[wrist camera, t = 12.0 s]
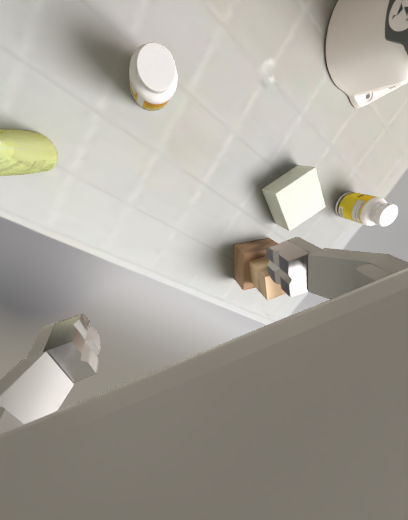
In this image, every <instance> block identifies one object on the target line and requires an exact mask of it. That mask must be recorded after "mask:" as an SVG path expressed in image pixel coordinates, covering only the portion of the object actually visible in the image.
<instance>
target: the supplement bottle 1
mask: <svg viewBox="0 0 408 520" xmlns="http://www.w3.org/2000/svg"><path fill="white" fill-rule="evenodd" d="M177 81H178V75H177V69H176V66H175V62H174V59H173V57H172V55H171V53H170V52H169V50H168V49H167V48H166V47H164V46H163V45H161V44H159V43H155V42H151V43H147V44H144V45H142V46H140V47H139V48H138V49H136V51H135V52H134V53H133V55H132V57H131V61H130V66H129V83H130V90H131V94H132V96H133V98H134V100H135V101H136V102H137V104H138V105H139V106H141V107H142V108H144V109H146V110H149V111H157V110H159V109H161V108H163V107H164V106H165V105H166V104H167V102H168V101H169V100H170V99H171V97H172V96H173V94H174V92H175V90H176V87H177Z"/></svg>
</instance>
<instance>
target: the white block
mask: <svg viewBox="0 0 408 520" xmlns="http://www.w3.org/2000/svg"><path fill="white" fill-rule="evenodd" d="M262 192H263V194H264V197H265V199H266V202H267V204H268V206H269V209H270V211H271V214H272V216H273V219H274V221H275V223H276V224H277V225H279V226H281V227H283V228H285V229H287V230H289V231H290V230H292V229H293V228H295V227H296V226H298V225H299V224H301V223H302V222H304V221H305V220H307V219H308V218H310V217H311V216H313V215H314V214H316V213H317V212H319V211H320V210H322V209H323V208H325V203H324V199H323V195H322V191H321V187H320V183H319V179H318V176H317V172H316V168H315V167H309V166H300V165H297V166H295V167H294V168H292V169H291V170H289V171H288V172H287V173H285V174H284V175H282V176H281V177H279V178H278V179H276V180H275V181H273V182H272V183H270V184H269V185H267V186H266V187H264V188H263V189H262Z"/></svg>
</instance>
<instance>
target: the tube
mask: <svg viewBox="0 0 408 520" xmlns="http://www.w3.org/2000/svg"><path fill="white" fill-rule="evenodd" d="M57 159H58V154H57V150H56V148H55V146H54V145H53V143H52V142H51V141H50V140H49V139H48V138H47V137H45V136H44V135H42V134H40V133H37V132H32V131H25V130H14V129H0V176H11V175H24V174H32V173H39V172H45V171H48V170H50V169H52V168H53V167H54V166H55V165H56V163H57Z"/></svg>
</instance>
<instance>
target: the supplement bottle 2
mask: <svg viewBox="0 0 408 520" xmlns="http://www.w3.org/2000/svg"><path fill="white" fill-rule="evenodd" d="M335 211H336V214H337V215H338V216H340V217H342V218H345V219H349V220H352V221H355V222H358V223H361V224H365V225H368V226H371V225H375V224H378V225H381V226H387V225H389V224H391V223H392V222H393V221H394V220H395V218H396V216H397V213H398V208H397V206H396V205H394V204H389V203H387V202H386V201H385V200H384V199H383V198H380V197H375V196H370V195H365V194H360V193H354V192H347V193H345V194H343V195H342V196H341V197H340V198H339V199H338V201H337V203H336V206H335Z"/></svg>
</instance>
